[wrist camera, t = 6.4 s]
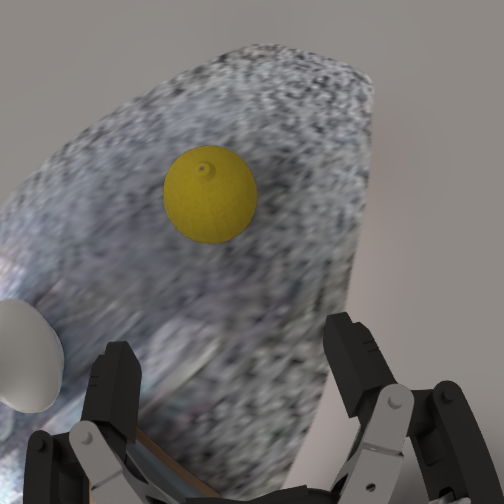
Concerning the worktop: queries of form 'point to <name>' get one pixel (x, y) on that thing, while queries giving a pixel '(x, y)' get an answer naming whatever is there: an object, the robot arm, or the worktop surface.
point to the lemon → (210, 194)
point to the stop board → (164, 472)
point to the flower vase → (28, 358)
